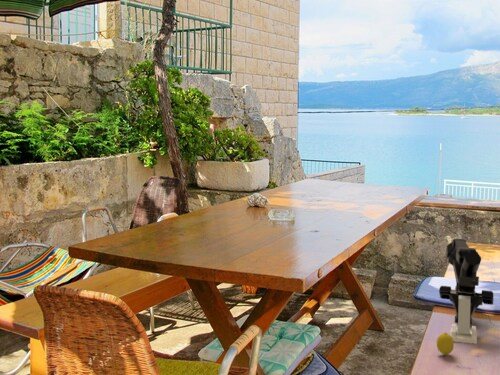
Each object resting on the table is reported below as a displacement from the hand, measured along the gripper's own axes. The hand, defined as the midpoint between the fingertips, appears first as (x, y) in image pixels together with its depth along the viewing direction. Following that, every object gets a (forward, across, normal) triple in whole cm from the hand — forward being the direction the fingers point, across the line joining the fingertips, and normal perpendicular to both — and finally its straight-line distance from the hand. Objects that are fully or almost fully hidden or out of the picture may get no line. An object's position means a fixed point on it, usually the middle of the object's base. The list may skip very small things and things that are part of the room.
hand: (463, 315), depth 217 cm
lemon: (+19, -4, -6) cm, 20 cm away
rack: (+5, 0, +7) cm, 9 cm away
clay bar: (+4, 0, +6) cm, 7 cm away
